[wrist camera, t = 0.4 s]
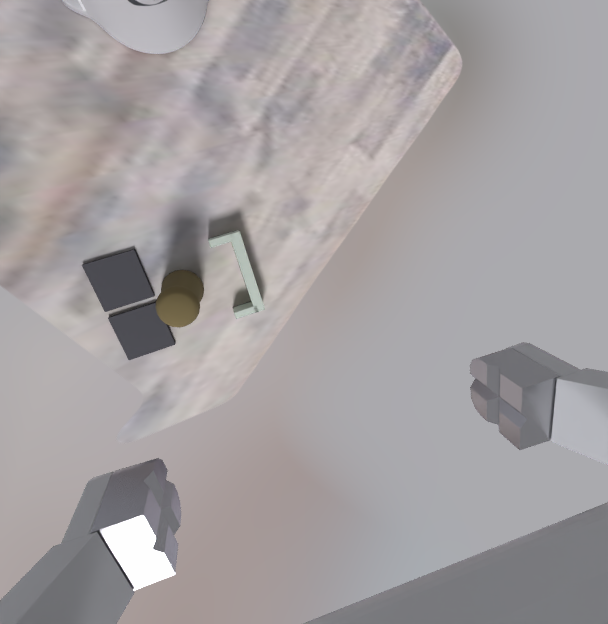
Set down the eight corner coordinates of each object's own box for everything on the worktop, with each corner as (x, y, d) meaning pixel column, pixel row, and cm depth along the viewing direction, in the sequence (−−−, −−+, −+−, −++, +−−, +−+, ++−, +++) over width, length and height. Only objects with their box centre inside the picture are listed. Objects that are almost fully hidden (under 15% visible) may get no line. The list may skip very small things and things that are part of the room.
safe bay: (208, 238, 52) (208, 240, 49) (238, 230, 53) (239, 231, 50) (234, 313, 56) (236, 319, 53) (262, 304, 57) (264, 309, 54)
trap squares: (83, 264, 49) (81, 265, 48) (134, 249, 50) (133, 249, 50) (129, 358, 54) (128, 360, 54) (175, 343, 55) (175, 344, 55)
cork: (152, 285, 52) (138, 305, 42) (186, 261, 52) (181, 275, 42) (179, 317, 54) (172, 343, 44) (212, 294, 54) (213, 315, 44)
